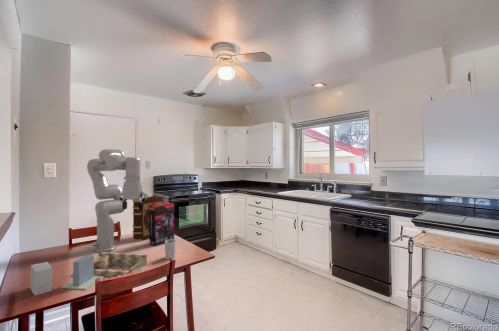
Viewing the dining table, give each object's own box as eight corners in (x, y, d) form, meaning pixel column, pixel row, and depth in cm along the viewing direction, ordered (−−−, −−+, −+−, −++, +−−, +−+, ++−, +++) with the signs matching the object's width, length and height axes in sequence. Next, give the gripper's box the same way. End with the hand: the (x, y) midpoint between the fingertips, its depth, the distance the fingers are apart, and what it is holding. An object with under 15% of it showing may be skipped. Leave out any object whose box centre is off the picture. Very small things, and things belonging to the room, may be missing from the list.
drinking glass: (166, 260, 149) (166, 243, 148) (163, 256, 154) (163, 240, 154) (177, 257, 153) (177, 241, 152) (173, 254, 158) (174, 238, 158)
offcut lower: (88, 273, 132) (88, 267, 132) (100, 266, 141) (100, 260, 141) (101, 273, 132) (101, 267, 132) (112, 266, 141) (112, 261, 141)
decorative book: (137, 242, 181) (137, 200, 181) (130, 240, 186) (130, 199, 185) (163, 234, 200) (163, 196, 200) (156, 233, 205) (156, 195, 204)
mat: (61, 288, 115) (61, 286, 115) (81, 276, 127) (81, 275, 127) (85, 289, 114) (85, 288, 114) (104, 277, 126) (104, 276, 126)
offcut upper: (91, 267, 132) (92, 261, 132) (96, 261, 139) (96, 256, 139) (104, 266, 133) (104, 260, 133) (108, 260, 141) (108, 255, 141)
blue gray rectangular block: (73, 285, 116) (73, 261, 116) (87, 276, 125) (87, 254, 125) (79, 286, 116) (79, 262, 116) (93, 277, 125) (93, 255, 125)
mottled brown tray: (79, 274, 130) (79, 262, 130) (100, 262, 145) (100, 252, 144) (131, 277, 126) (131, 265, 126) (146, 265, 141) (146, 254, 141)
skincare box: (52, 290, 113) (52, 267, 113) (34, 296, 108) (33, 271, 108) (48, 283, 120) (47, 260, 120) (30, 288, 115) (30, 264, 115)
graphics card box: (154, 246, 172) (154, 206, 172) (148, 244, 176) (148, 205, 175) (174, 240, 186) (174, 203, 186) (168, 238, 190) (168, 202, 190)
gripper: (114, 179, 142) (114, 210, 142) (143, 179, 140) (143, 211, 140) (122, 178, 149) (122, 207, 150) (150, 179, 147) (150, 208, 148)
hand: (132, 209), depth 145 cm, fingers open, 9 cm apart
